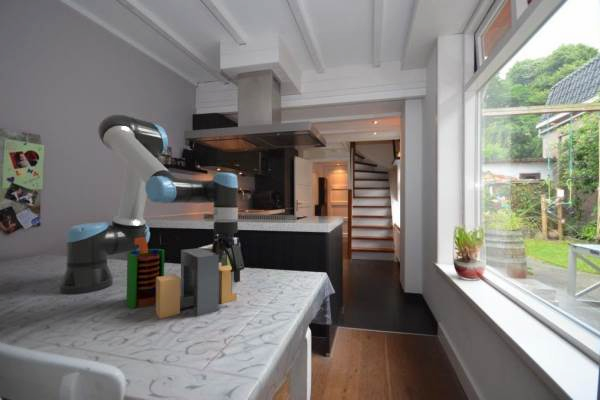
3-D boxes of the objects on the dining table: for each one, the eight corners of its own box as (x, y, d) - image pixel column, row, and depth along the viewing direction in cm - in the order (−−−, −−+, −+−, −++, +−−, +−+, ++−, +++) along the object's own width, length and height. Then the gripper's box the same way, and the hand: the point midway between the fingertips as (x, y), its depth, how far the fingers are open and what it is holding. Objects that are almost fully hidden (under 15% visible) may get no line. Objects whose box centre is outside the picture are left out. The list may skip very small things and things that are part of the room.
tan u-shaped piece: (155, 312, 75) (155, 276, 75) (228, 295, 89) (228, 265, 89) (160, 319, 70) (160, 281, 71) (236, 300, 85) (236, 268, 85)
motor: (143, 309, 77) (144, 240, 77) (117, 307, 79) (118, 239, 79) (167, 297, 87) (168, 236, 87) (144, 295, 89) (144, 235, 89)
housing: (180, 301, 84) (181, 250, 84) (199, 296, 88) (200, 248, 88) (197, 316, 72) (197, 257, 72) (218, 310, 76) (218, 254, 76)
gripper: (200, 219, 93) (200, 281, 92) (232, 223, 74) (232, 300, 73) (220, 219, 98) (220, 277, 97) (255, 222, 79) (256, 294, 78)
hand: (225, 287), depth 85 cm, fingers open, 13 cm apart
